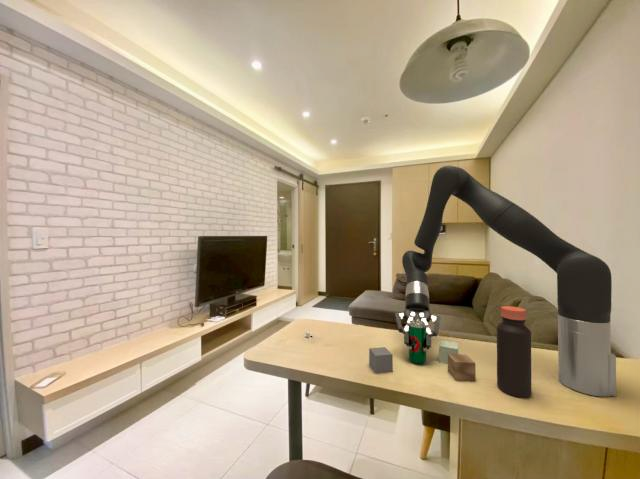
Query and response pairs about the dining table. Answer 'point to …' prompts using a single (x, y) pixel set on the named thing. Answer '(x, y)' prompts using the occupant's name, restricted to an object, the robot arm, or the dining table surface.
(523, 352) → the bottle
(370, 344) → the dining table surface
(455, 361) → the walnut block
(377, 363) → the charcoal block
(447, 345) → the sage block
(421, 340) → the soda can
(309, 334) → the power adapter
